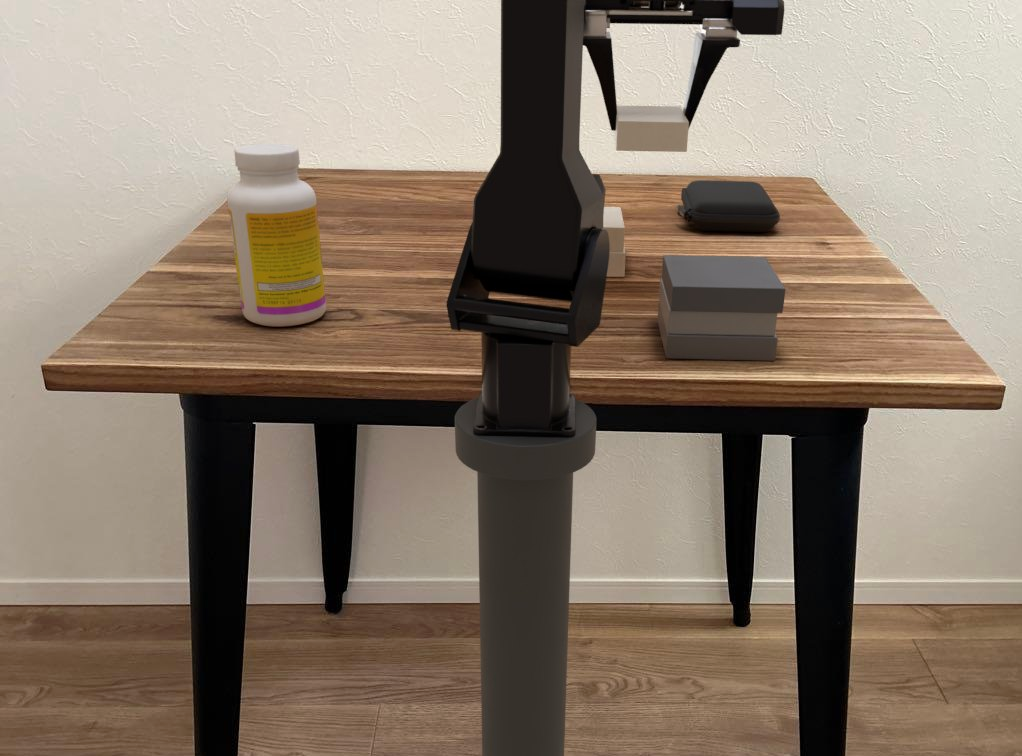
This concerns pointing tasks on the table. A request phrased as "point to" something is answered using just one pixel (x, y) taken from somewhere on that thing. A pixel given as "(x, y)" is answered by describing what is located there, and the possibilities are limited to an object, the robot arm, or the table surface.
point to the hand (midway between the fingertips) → (649, 130)
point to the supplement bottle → (275, 238)
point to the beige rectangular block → (651, 129)
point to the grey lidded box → (719, 307)
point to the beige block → (615, 241)
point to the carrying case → (728, 206)
